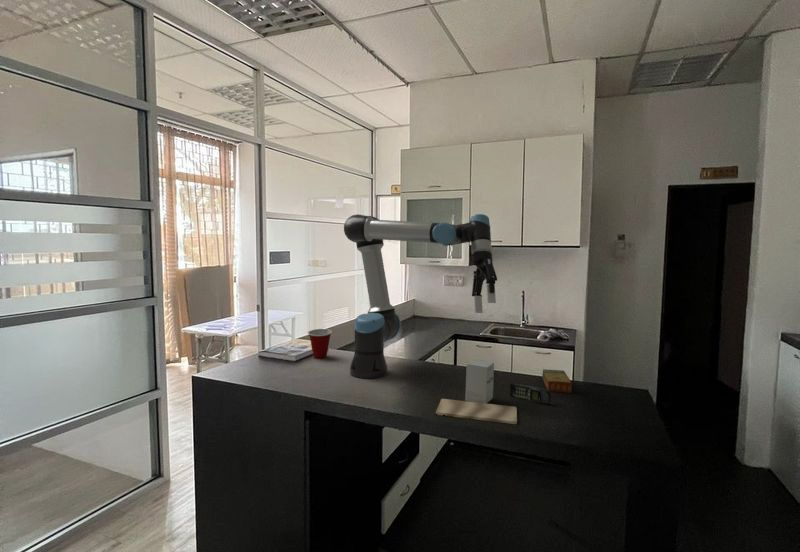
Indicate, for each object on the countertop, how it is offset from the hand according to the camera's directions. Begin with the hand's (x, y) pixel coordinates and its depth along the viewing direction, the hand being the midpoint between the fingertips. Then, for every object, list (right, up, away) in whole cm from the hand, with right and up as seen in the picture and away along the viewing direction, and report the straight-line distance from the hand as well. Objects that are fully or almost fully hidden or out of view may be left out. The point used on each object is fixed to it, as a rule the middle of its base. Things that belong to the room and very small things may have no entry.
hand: (485, 308), depth 152 cm
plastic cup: (-67, -26, +40) cm, 83 cm away
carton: (+28, -30, +8) cm, 42 cm away
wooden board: (-7, -31, -21) cm, 38 cm away
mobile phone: (+14, -31, -9) cm, 35 cm away
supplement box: (-4, -30, -10) cm, 32 cm away
